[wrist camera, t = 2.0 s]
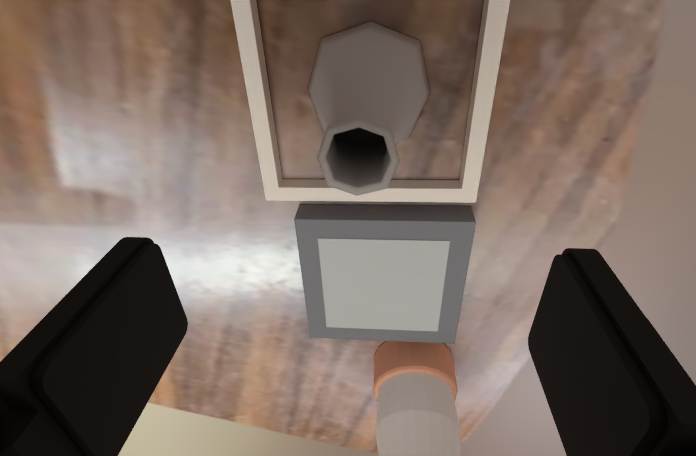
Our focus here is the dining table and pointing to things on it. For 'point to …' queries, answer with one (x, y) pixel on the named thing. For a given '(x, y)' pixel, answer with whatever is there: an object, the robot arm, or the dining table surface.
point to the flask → (366, 103)
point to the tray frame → (397, 189)
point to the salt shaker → (416, 400)
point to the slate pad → (384, 270)
